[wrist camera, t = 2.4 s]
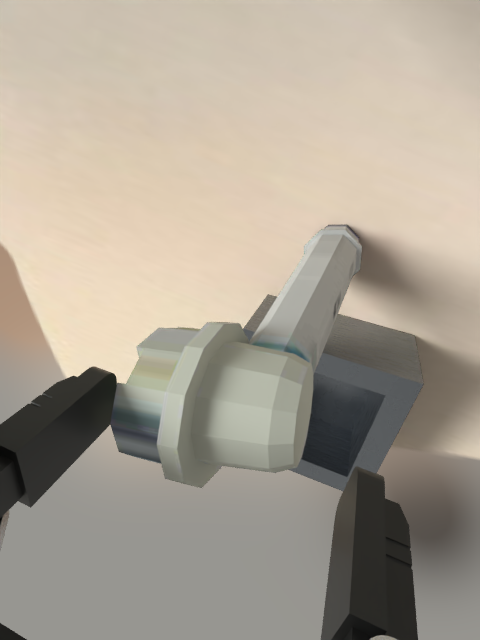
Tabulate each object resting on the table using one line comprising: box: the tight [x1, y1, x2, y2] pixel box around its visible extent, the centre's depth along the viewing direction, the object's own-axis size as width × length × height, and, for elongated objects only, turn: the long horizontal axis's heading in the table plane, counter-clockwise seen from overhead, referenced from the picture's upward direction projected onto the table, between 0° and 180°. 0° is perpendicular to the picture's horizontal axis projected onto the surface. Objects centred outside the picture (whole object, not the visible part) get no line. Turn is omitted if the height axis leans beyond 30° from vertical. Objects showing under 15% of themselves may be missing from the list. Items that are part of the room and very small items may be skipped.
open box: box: [243, 295, 424, 491], centre depth 33 cm, size 14×14×8 cm
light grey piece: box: [110, 225, 362, 488], centre depth 20 cm, size 5×7×25 cm
